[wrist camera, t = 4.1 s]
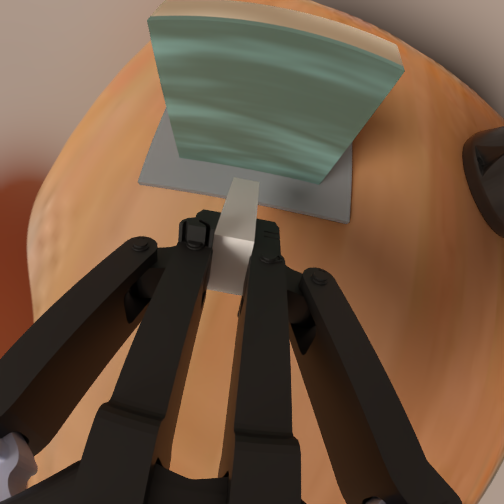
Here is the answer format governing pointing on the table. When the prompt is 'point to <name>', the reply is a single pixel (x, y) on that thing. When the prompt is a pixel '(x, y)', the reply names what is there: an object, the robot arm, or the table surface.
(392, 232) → the table surface
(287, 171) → the plaque
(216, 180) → the mat
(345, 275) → the table surface
